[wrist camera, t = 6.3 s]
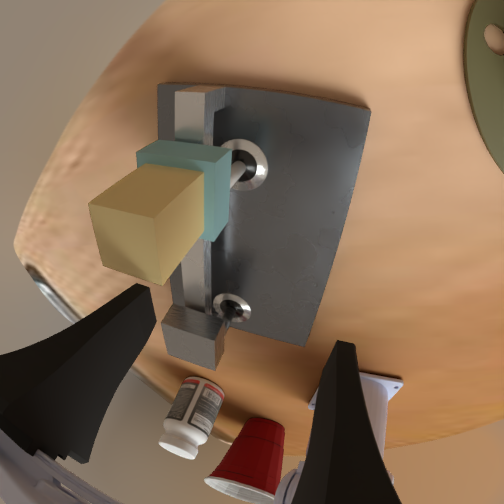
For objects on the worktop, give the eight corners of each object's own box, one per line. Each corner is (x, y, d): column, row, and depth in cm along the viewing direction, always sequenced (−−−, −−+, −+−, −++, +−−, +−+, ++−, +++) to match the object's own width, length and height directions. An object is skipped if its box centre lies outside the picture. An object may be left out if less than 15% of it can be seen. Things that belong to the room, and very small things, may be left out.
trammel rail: (235, 328, 26) (215, 374, 22) (193, 315, 27) (168, 357, 23) (254, 89, 14) (217, 103, 11) (185, 84, 15) (133, 99, 11)
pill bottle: (187, 389, 40) (159, 448, 32) (182, 369, 36) (148, 434, 29) (226, 402, 38) (200, 464, 31) (225, 383, 35) (195, 453, 27)
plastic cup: (278, 407, 35) (251, 492, 26) (313, 438, 39) (294, 509, 30) (215, 408, 41) (185, 477, 32) (254, 437, 45) (232, 499, 36)
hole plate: (306, 337, 26) (304, 348, 25) (178, 301, 28) (173, 310, 27) (370, 108, 14) (371, 111, 13) (166, 82, 16) (156, 84, 15)
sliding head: (243, 199, 18) (175, 298, 12) (183, 187, 19) (97, 271, 12) (248, 135, 16) (165, 207, 9) (182, 127, 16) (76, 189, 10)
